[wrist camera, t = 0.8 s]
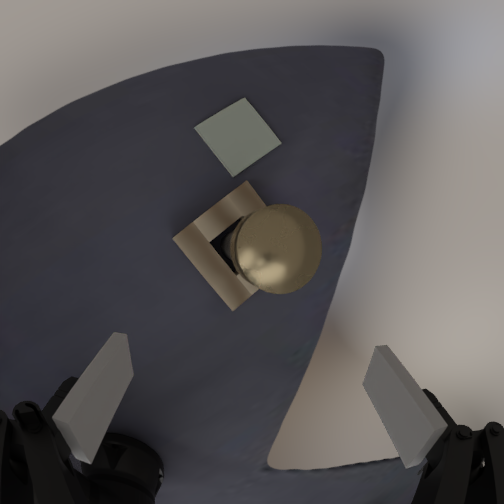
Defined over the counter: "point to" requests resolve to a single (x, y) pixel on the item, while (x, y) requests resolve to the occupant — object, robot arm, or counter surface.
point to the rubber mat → (237, 136)
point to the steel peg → (275, 248)
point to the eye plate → (206, 257)
